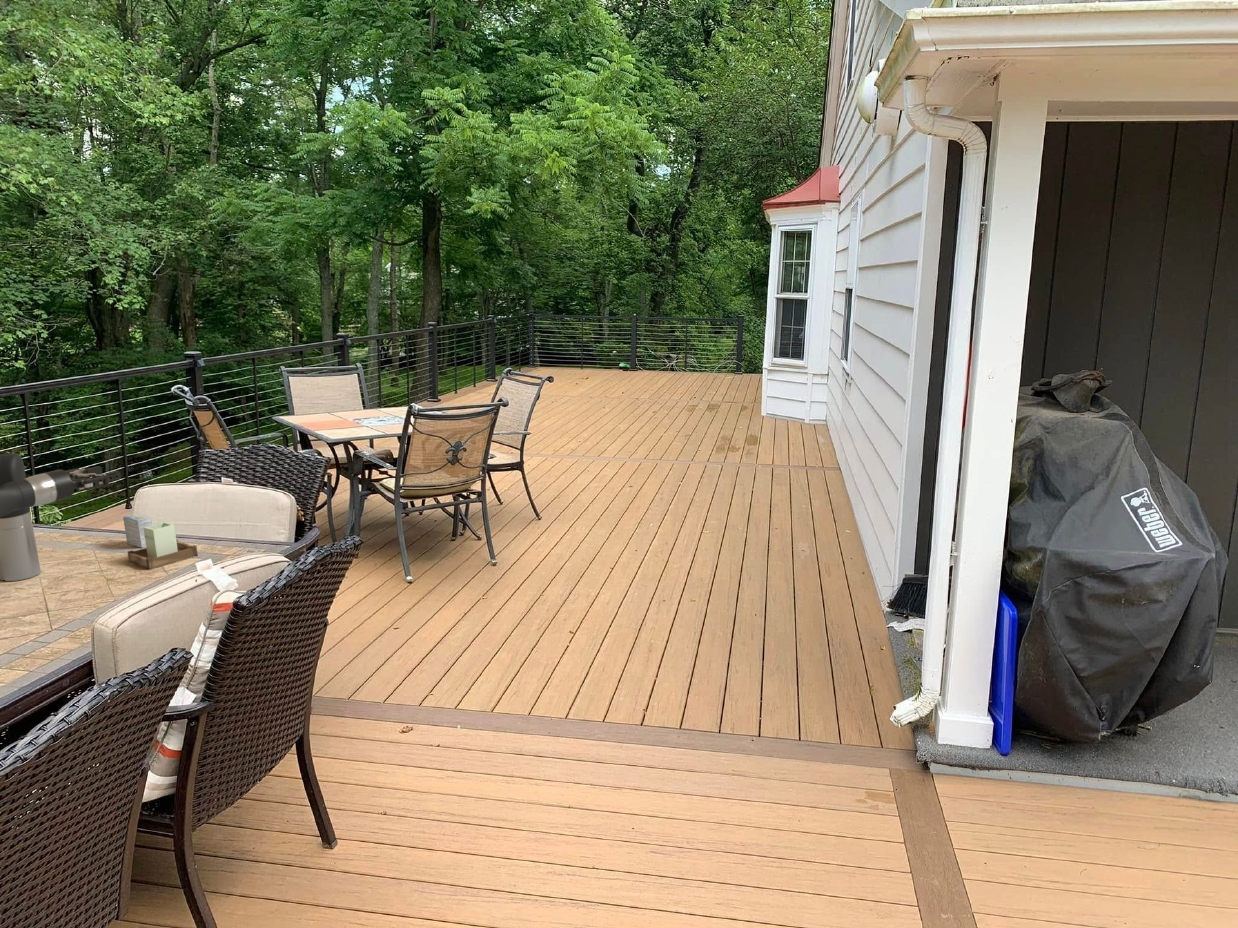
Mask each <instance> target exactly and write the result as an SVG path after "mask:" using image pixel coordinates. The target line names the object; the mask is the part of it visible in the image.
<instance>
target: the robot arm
mask: <svg viewBox="0 0 1238 928" xmlns="http://www.w3.org/2000/svg"><path fill="white" fill-rule="evenodd" d="M121 474H122V473H121V471H119V470H115V471H114V470H113V471H112V472H110V471H109V472H107V473H103V469H102V466H99V465H97V466H93V467H89V468H79V467H75V468H71V469H68V470H63V469H55V470H52V471H51V470H50V471H48V472H43V473H39V474H35V475H31V476H27V477H26V468H25V464H24V460H23V457H22V456H21V455H20V454H18V453H2V454H1V453H0V579H1V581H3V580H5V581H4V582H14V581H15V582H16V581H22V580H26V579H30V578H33V577H36V576H39V574H41V572H42V570H41V565H40V564H41V563H40V560H39V559H40V558H39V554H38V552H39V551H38V548H37V543H36V542H37V541H36V536H35V531H34V526H33V519H32V515H31V514H32V513H31V509H30V508H32V507H35V506H37V507H38V506H43V505H47V504H50V503H51V504H52V503H54V502H58V501H62V500H66V499H70V498H71V497H72V496H73V495H74V491H75V490H79V491H80V490H84V491H85V492H89V491H93V490H97V489H99V488H100V489H101V488H103V487H108V486H109V485H110V483H111V482H115V481H118V480H121V479H122V475H121Z"/></svg>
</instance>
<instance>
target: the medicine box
mask: <svg viewBox="0 0 1238 928" xmlns="http://www.w3.org/2000/svg"><path fill="white" fill-rule="evenodd" d="M123 525H124V530H125V539H126V544H127V545H130V546H133V547H138V548H141V549H144V548H146V542H145V536H144V528H143V527H147V526H151V525H154V522H153V518H152V516H150V515H147V514H146V515H145V514H141V513H133V514H128V515H126V516H123Z"/></svg>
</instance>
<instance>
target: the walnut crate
mask: <svg viewBox="0 0 1238 928" xmlns="http://www.w3.org/2000/svg"><path fill="white" fill-rule="evenodd" d="M176 541H177V549H178V552H174V553H171V554H167V555H163V556H160V557H156V558H151V557H149V558H148V555H147V548H146V547H144V548H141V549H137V550H128V551H127V558H128V562H129V563H131V564H134V565H136V566H140V567H142V568H144V569H147V570H153V569H157V568H160V567H164V566H167V565H171V564H175V563H177V562H181V561H184V560H189V559H192V558H194V557H193V556H196V557H198V556H199V555H198V554H199V553H198V548H197V547H198V546H197V545H194V544H193V545H191V544H189V543H186V542H182V541H179V540H178V539H177V538H176ZM191 557H192V558H191ZM188 558H189V559H188Z"/></svg>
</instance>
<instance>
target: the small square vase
mask: <svg viewBox="0 0 1238 928" xmlns="http://www.w3.org/2000/svg"><path fill="white" fill-rule="evenodd" d="M143 528H144V536H145V542H146V547H145V548H147V555H148V558H149V557H151V558H156V557H160V556H163V555H167V554H171V553H174V552H178V549H177V541H176V539H177V536H176V535H177V534H176V528H175V524H174V523H171V522H166V521H163V522H160V523H155V524H153V525H151V526H147V527H143Z"/></svg>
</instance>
